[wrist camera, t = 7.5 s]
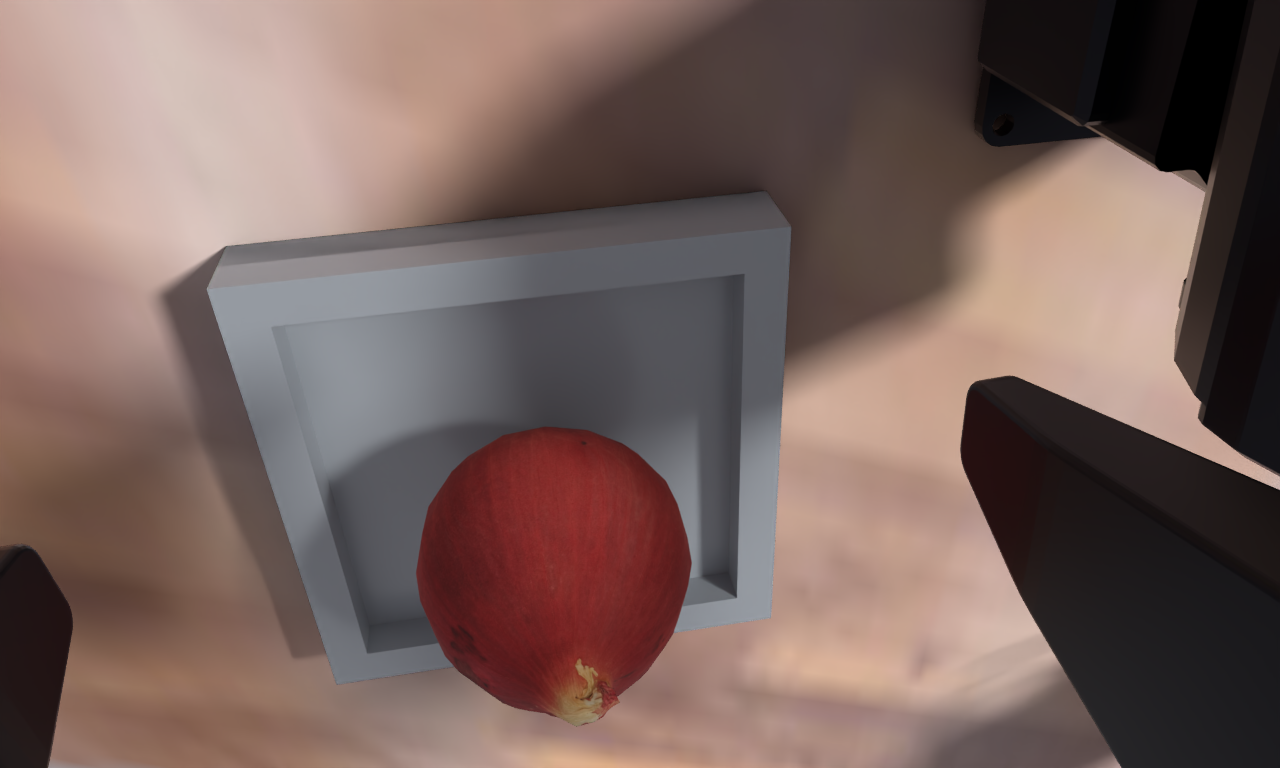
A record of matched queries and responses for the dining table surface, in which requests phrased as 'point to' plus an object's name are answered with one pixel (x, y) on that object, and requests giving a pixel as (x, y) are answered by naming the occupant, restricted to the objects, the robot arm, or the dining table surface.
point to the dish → (510, 388)
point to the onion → (554, 570)
